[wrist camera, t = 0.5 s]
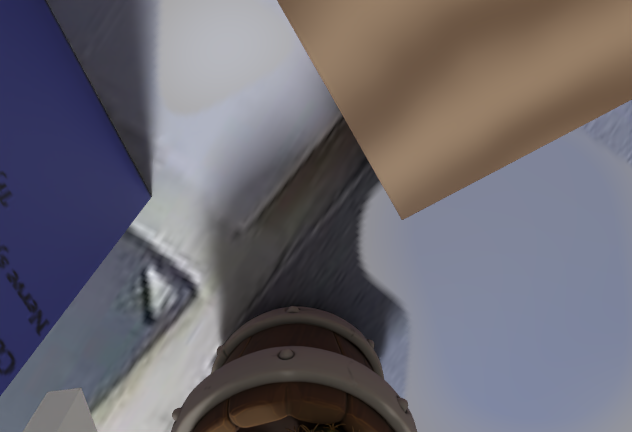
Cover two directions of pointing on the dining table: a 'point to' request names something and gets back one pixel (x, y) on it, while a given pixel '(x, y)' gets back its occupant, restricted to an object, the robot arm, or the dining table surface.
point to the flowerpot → (295, 380)
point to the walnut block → (463, 80)
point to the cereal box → (52, 180)
